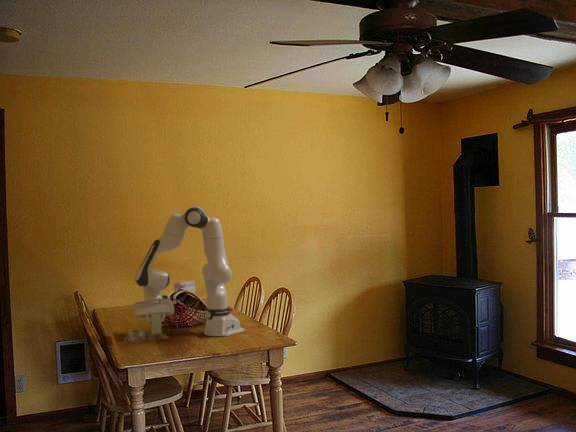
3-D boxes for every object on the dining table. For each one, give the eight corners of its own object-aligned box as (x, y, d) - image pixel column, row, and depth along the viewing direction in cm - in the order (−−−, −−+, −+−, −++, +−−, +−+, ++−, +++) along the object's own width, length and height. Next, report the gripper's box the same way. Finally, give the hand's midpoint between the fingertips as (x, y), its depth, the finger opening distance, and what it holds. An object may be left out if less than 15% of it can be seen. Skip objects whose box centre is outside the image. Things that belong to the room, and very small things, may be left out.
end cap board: (165, 336, 292) (165, 325, 292) (169, 341, 281) (169, 330, 280) (123, 340, 283) (122, 329, 283) (125, 345, 272) (125, 335, 272)
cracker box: (188, 311, 357) (188, 279, 356) (195, 312, 354) (195, 280, 353) (174, 315, 345) (173, 282, 344) (181, 316, 342) (180, 283, 341)
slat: (161, 332, 286) (160, 313, 285) (161, 333, 284) (161, 314, 284) (151, 333, 284) (150, 314, 284) (151, 334, 282) (151, 315, 282)
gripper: (133, 299, 286) (136, 321, 277) (172, 295, 293) (176, 317, 285) (132, 306, 290) (135, 328, 281) (171, 302, 298) (175, 323, 289)
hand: (156, 322), depth 283 cm, fingers closed on slat, 5 cm apart
